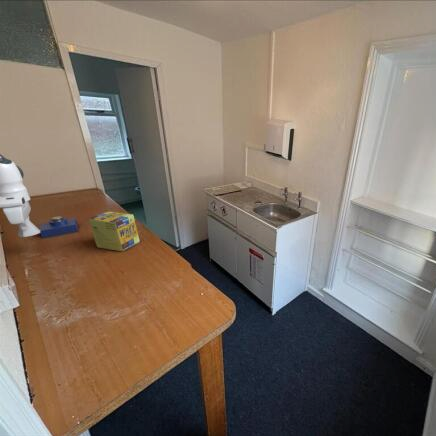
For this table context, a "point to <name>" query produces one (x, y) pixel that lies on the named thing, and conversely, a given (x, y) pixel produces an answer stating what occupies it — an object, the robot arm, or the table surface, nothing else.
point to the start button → (57, 218)
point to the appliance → (58, 227)
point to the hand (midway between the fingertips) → (26, 226)
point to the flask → (28, 230)
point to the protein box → (114, 231)
